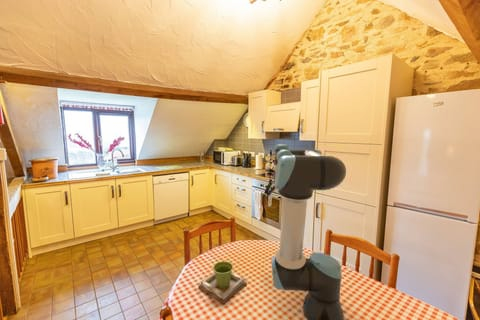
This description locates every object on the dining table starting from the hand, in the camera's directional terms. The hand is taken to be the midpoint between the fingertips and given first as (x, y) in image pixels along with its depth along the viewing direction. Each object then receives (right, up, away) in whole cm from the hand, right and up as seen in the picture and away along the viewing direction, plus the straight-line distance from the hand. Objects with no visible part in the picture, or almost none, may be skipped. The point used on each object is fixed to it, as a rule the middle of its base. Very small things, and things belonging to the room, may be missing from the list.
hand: (280, 208), depth 129 cm
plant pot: (-31, -31, -23) cm, 49 cm away
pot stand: (-31, -31, -23) cm, 50 cm away
